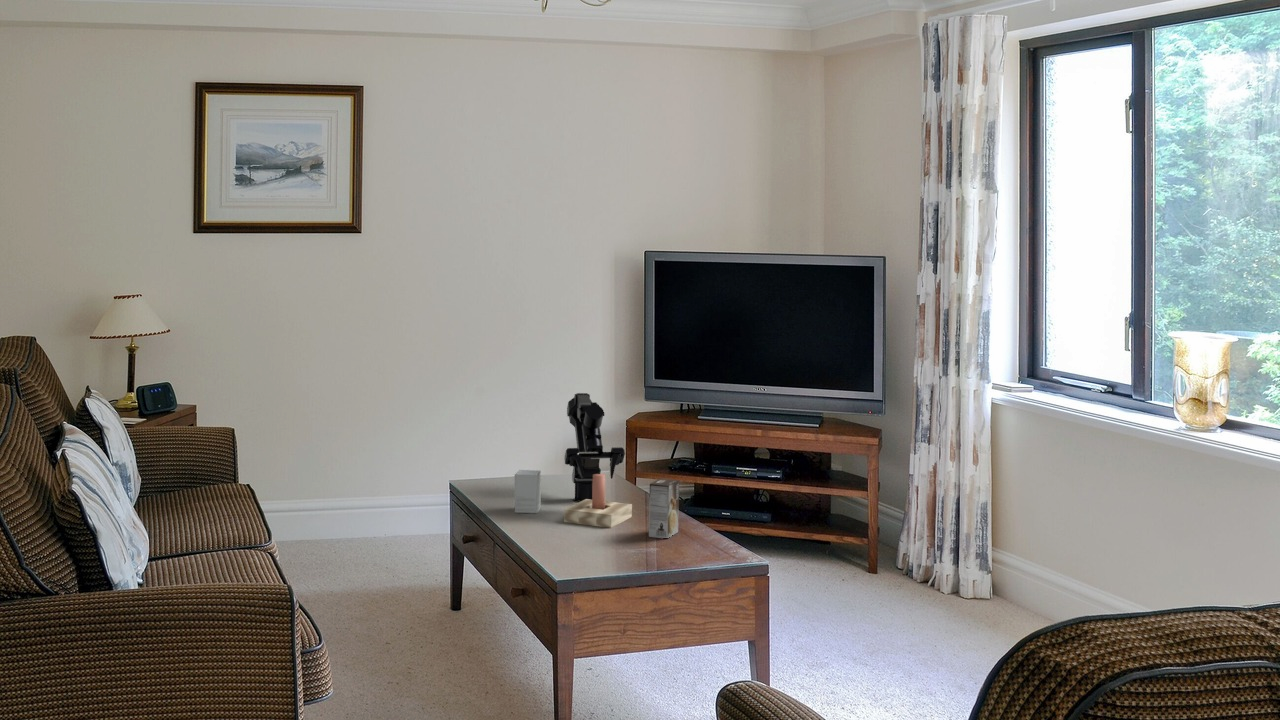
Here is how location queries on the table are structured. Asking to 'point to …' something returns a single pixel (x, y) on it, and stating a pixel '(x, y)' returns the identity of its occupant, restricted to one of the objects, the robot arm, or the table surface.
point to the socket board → (598, 514)
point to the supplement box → (527, 491)
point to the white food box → (663, 508)
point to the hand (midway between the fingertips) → (597, 478)
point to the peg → (598, 491)
